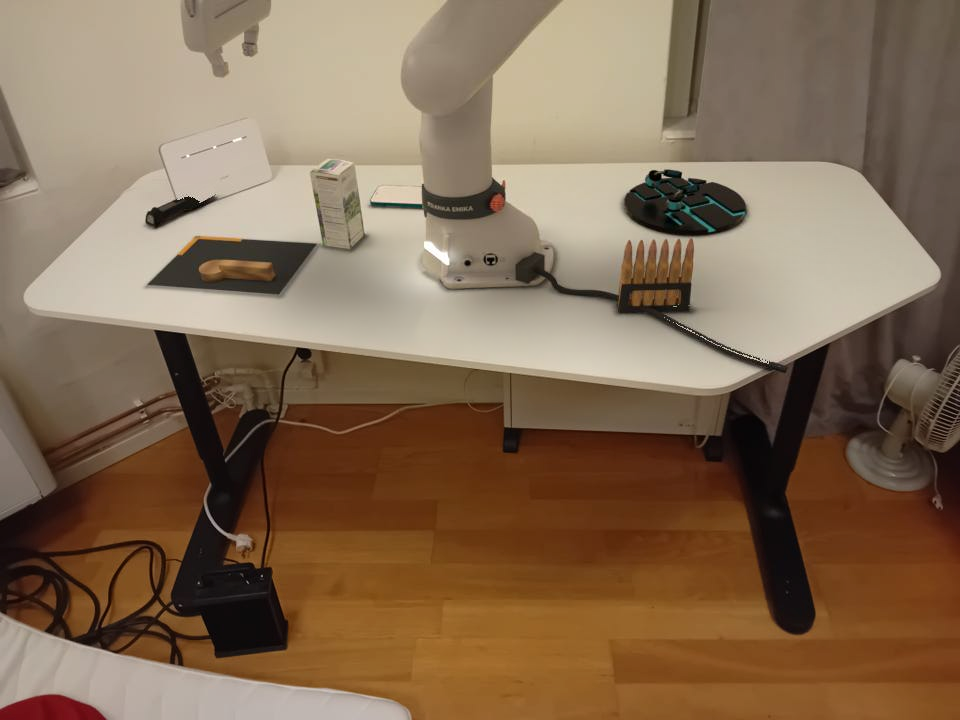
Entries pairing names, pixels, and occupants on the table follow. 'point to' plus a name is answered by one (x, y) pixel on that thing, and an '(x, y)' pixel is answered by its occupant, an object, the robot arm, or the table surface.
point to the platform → (683, 205)
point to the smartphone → (397, 196)
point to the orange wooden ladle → (236, 270)
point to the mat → (217, 248)
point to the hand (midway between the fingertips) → (236, 65)
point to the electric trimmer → (170, 210)
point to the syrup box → (337, 203)
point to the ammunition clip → (656, 279)
